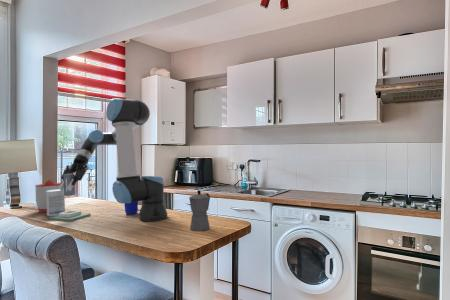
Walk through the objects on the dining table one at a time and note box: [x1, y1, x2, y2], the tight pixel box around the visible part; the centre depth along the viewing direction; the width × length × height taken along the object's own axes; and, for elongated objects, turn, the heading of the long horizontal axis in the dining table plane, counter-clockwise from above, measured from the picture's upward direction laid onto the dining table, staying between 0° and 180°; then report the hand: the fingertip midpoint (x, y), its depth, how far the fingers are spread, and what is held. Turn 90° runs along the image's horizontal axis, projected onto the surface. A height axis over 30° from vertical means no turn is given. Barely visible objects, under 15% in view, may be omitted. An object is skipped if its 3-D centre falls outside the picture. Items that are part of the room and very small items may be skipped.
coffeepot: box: [188, 189, 211, 233], centre depth 142 cm, size 15×9×18 cm, turn 151°
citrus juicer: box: [34, 179, 61, 214], centre depth 193 cm, size 16×17×20 cm
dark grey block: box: [62, 173, 76, 197], centre depth 171 cm, size 4×4×12 cm
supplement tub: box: [46, 189, 66, 217], centre depth 180 cm, size 10×10×15 cm
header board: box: [48, 210, 92, 222], centre depth 171 cm, size 16×14×3 cm
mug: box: [124, 201, 141, 215], centre depth 178 cm, size 8×12×10 cm
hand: (64, 189), depth 167 cm, fingers closed on dark grey block, 4 cm apart
